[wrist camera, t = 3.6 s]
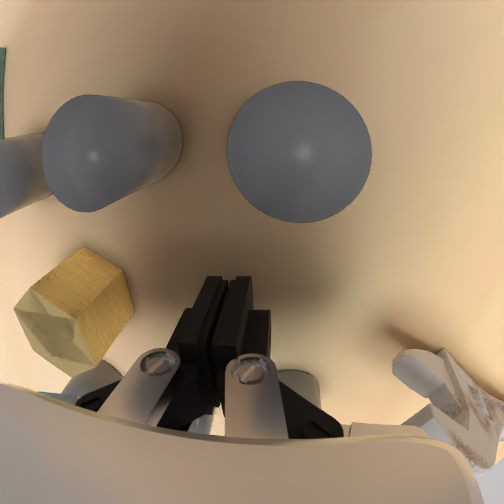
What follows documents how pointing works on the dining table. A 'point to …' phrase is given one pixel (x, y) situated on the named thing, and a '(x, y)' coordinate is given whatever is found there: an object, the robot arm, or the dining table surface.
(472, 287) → the dining table surface
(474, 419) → the silver wrench
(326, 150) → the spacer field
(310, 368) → the dining table surface
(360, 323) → the dining table surface
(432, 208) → the dining table surface
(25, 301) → the gold hexagonal prism
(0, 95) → the teal dish
